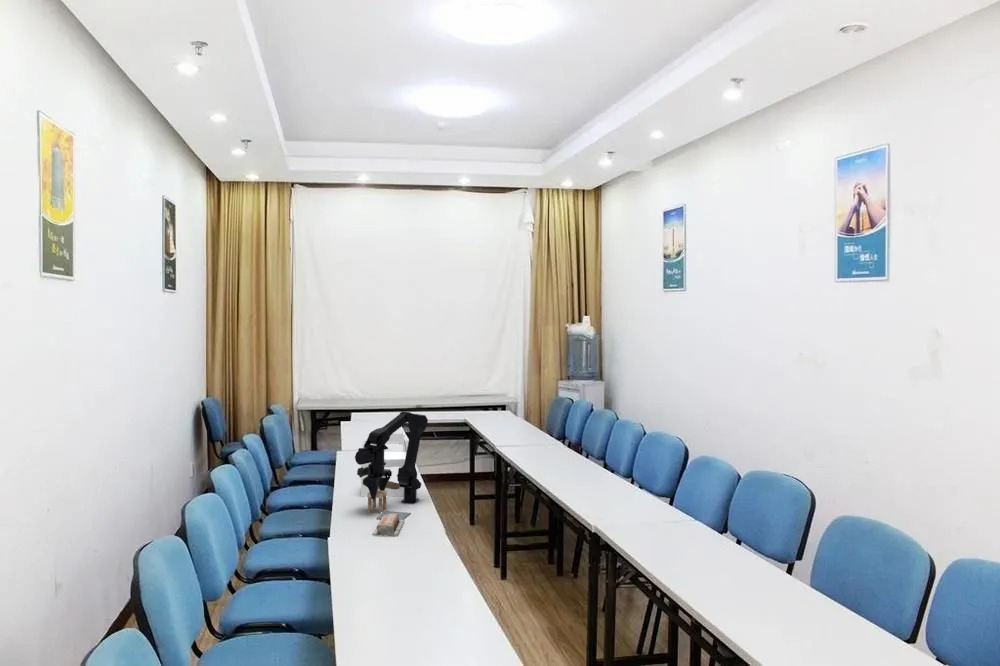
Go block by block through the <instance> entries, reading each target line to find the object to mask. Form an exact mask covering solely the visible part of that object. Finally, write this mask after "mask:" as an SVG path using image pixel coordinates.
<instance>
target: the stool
mask: <svg viewBox="0 0 1000 666" xmlns="http://www.w3.org/2000/svg"><path fill="white" fill-rule="evenodd" d="M386 495H387V491H380V490H378V491H377V494H376V497H375V500H372V498H371V494H370V492H369V493H368V494H367V497H366V498H367V512H368V511H369V512H368V513H371V511H372V512H373V510H376V509H377V499H378V513H379V512H380V513H379V514H382V513H383V511H387V497H386ZM375 508H376V509H375ZM381 512H382V513H381Z"/></svg>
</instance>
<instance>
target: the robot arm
mask: <svg viewBox="0 0 1000 666" xmlns="http://www.w3.org/2000/svg"><path fill="white" fill-rule="evenodd" d="M428 422H429V420H428V417H427V415H425V414H419V413H412V412H410V411H405V410H404V411H401V412H399V414H398V415H396V416H395V417H394V418H392V420H390V421H389V422H388V423H387V424H385V425H383V426H382V427H378V428H376V429H374V430H372V431H370V432H369V434H368V436H369V437H367V439H366V440H365V441H366V443H365V444H364V446H363V445H362V446H363V447H364V448H362V447H359V448H358V451H356V452H355V456H354V460H355V462H356V464H357V465H360V467H359V468H357V471H356V472H357V473H356V475H357V476H359V478H360V479H361V477H362V476H365V475H368V476H367V477H366V478H364V479H363V485H365V486H366V487H368V489H369V491H370V494H371V498H372V500H375V497H376V494H377V491H378V488H379V489H380V491H384V490H385V488H386V486H387V483H388V481H390V479H391V477H393V476H392V473H393V472H392V471H391V469H389V468H388V469H387V468H385V467H384V465H386V462H384V452H385V450H389V447H388V446H387V444H386V443H387V441H388V440H389V438H390V436H391V435H392V434H395V432H397V431H398V430H399V429H400V428H402V427H403V426H404V425H405V424H407V423H408V425H407V426H408V429H409V439H408V441H409V442H408V448H407V453H406V458H405V463H404V465H403V467H402V468H401V467H398V469H397V475H396V479H397V483H399V485H400V487H403V488H404V496H403V499H402V500H401V501H400V502H401V503H405V504H406V503H407V504H415V503H417V502H418V501H419V500H420V498H418V496H417V490H419V489H421V488H422V482H421V481H420V480H419V479H418V472H417V468H416V463H417V458H418V453H419V447H420V442H421V436H422V434H423V433H424V432H425V430H427V425H428ZM366 463H370V464H369V466H368V467H365V468H363V467H361V465H362V464H366ZM416 501H417V502H416Z"/></svg>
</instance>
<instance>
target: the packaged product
mask: <svg viewBox="0 0 1000 666" xmlns="http://www.w3.org/2000/svg"><path fill="white" fill-rule="evenodd" d="M405 520H406V519H404V520H399V514H396V513H392V514H387V515H384V516H383V517H382V518H381V520H379V522H378V523H377V525H376V527H375V529H374V531H373V532H372V535H383V536H382V537H385V536H384V535H388V536H387V537H398V536H399V534H400V532H401V531H402V529H403V527H404V525H403V524H405ZM402 526H403V527H402ZM401 528H402V529H401ZM400 530H401V531H400ZM372 535H371V536H372Z"/></svg>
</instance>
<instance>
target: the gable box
mask: <svg viewBox="0 0 1000 666" xmlns="http://www.w3.org/2000/svg"><path fill="white" fill-rule="evenodd" d="M368 437H369V435H368ZM368 437H367V438H368ZM366 441H367V440H363V441H362V446H361V448H364V447H363V446H364V444H365V443H366ZM408 442H409V440H406V439H405V438H404V434H403V433H393V434H392V435H391V436H390V438H389V440H388V441H387V443H386V444H385V445H387V444H390V445H391V444H395V445H396V444H399V445H402V451H384V462H386V465H384V468H396V467H397V468H402V467H403V465H404V463H405V458H406V453H407V448H408ZM369 464H370V463H366V464H362V465H360V468H361V467H363V468H365V467H368V466H369ZM367 476H368V475H365V476H362V477H361V478H360V497H361V496H367V494H368V493H369V492H370V491H369V489H368V487H366V486H365V485H363V479H364V478H366V477H367ZM378 490H380V489H379V488H378ZM384 491H387V495H386V496H397V497H404V488H403V487H400V485H399V482H395V481H391V480H389V481H388V483H387V486H386V488H385V490H384Z"/></svg>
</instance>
